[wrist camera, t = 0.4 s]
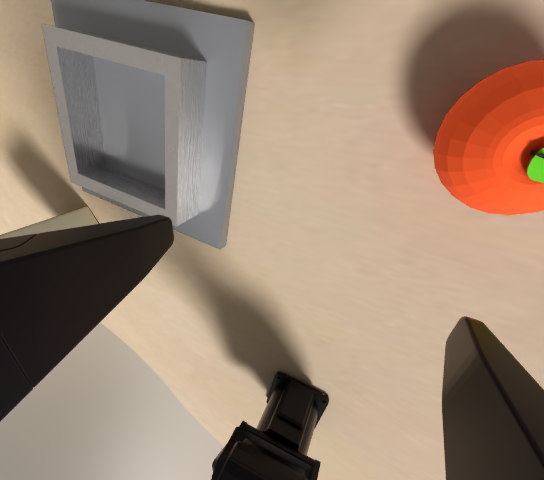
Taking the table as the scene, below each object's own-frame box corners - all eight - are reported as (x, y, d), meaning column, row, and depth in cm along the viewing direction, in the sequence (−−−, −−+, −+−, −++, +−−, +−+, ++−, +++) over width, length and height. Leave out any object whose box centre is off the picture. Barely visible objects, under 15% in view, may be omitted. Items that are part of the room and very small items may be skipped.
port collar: (197, 214, 27) (176, 226, 25) (98, 174, 30) (70, 181, 28) (207, 61, 21) (179, 57, 18) (79, 30, 24) (41, 23, 21)
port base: (225, 245, 29) (220, 249, 28) (90, 188, 33) (82, 190, 32) (254, 23, 19) (247, 20, 18) (60, -15, 24) (48, -19, 23)
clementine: (643, 103, 14) (807, 112, 8) (528, 219, 18) (585, 280, 12) (481, 44, 15) (524, 16, 10) (407, 163, 19) (405, 194, 13)
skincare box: (84, 247, 39) (-28, 301, 29) (64, 218, 38) (-59, 263, 28) (108, 235, 36) (-9, 291, 26) (87, 203, 34) (-43, 248, 25)
